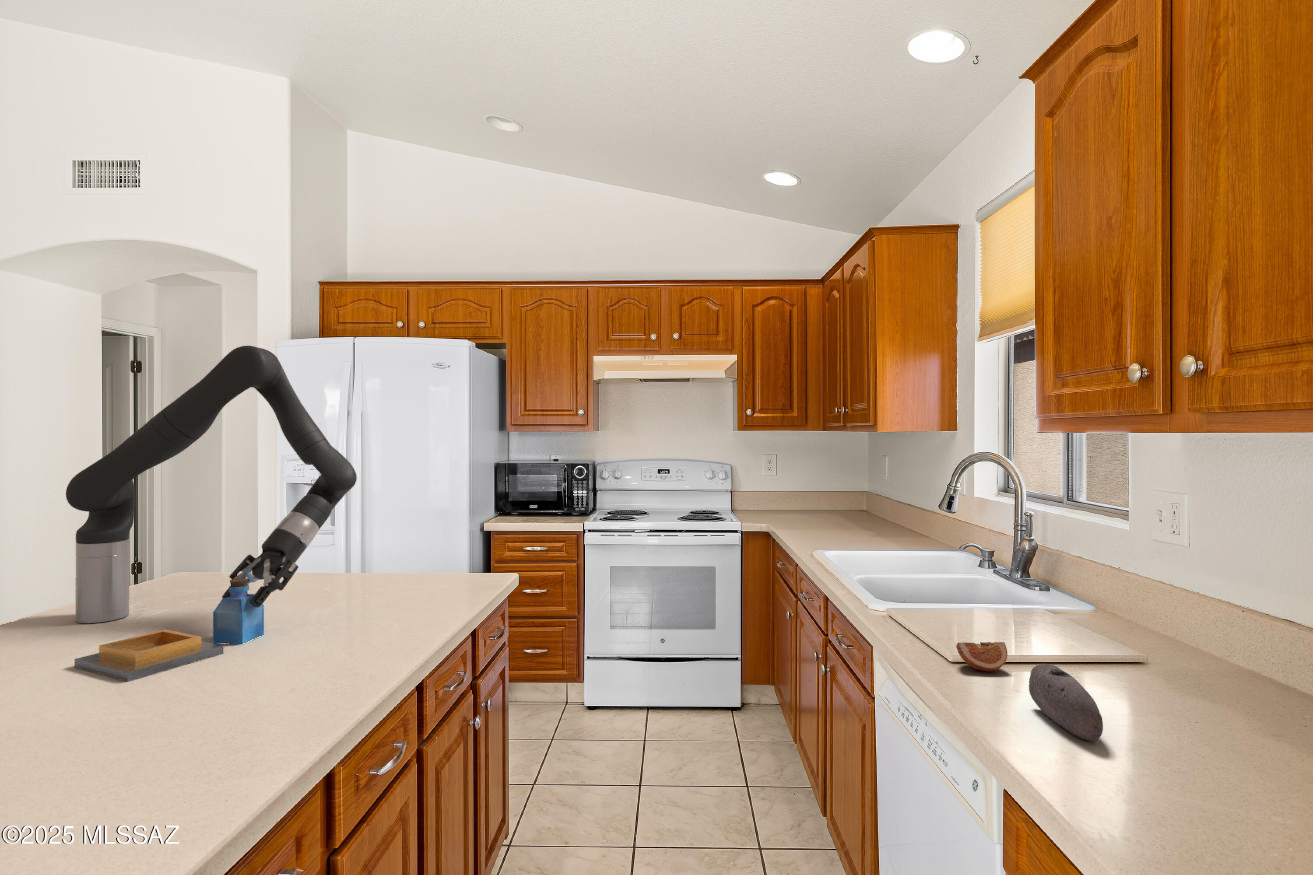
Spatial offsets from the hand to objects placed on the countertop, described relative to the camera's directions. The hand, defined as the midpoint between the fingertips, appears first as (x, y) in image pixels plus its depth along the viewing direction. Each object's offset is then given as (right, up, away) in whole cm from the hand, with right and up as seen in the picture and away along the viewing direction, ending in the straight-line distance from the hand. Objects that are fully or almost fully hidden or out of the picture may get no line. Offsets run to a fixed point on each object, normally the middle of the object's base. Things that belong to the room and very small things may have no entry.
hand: (239, 602), depth 136 cm
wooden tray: (-8, -7, -13) cm, 17 cm away
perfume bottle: (0, -8, 0) cm, 7 cm away
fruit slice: (+141, -8, -16) cm, 142 cm away
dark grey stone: (+143, -8, -39) cm, 148 cm away
